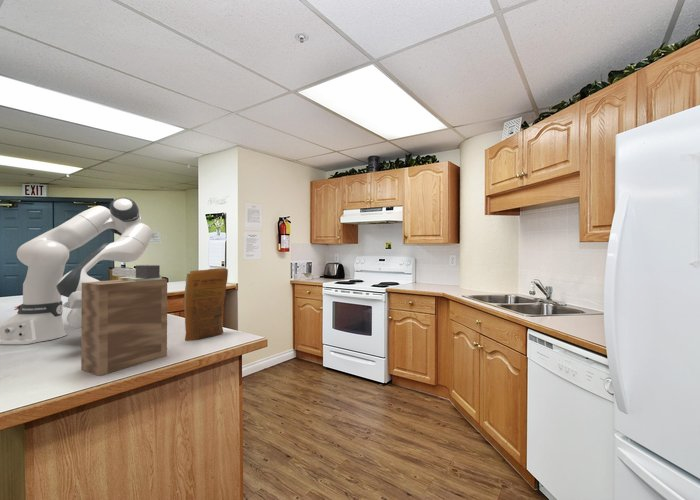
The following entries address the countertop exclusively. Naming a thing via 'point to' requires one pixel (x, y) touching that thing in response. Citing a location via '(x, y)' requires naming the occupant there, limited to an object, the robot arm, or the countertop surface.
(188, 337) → the pancake mix bag
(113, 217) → the robot arm
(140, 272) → the grey metal bar
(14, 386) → the countertop surface
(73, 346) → the countertop surface
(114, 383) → the countertop surface
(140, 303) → the brown wooden box
